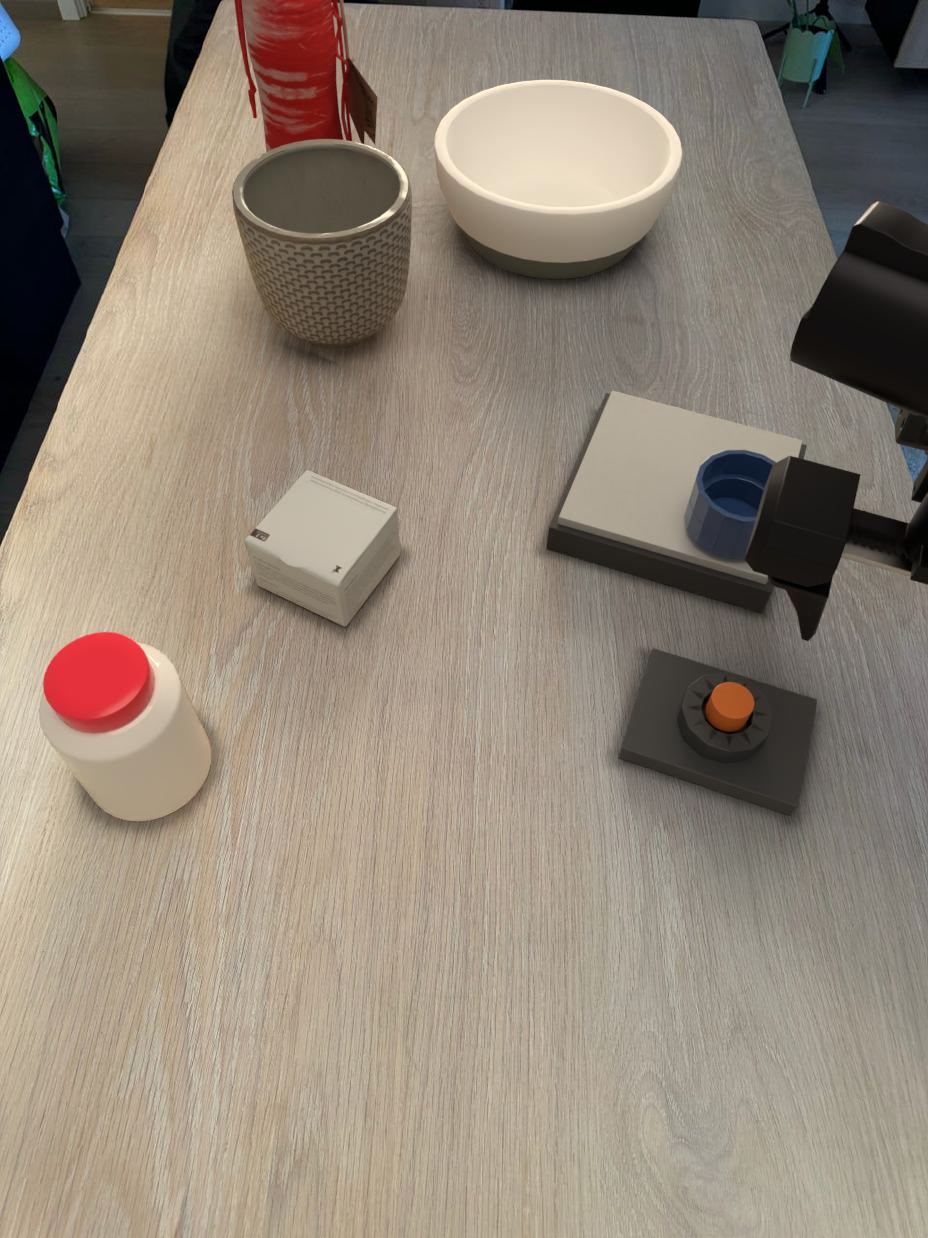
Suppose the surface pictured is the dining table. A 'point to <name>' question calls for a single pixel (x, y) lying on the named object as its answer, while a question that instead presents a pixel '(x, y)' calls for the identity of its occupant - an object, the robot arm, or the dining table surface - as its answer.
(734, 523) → the small dish
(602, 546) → the scale
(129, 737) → the pill bottle
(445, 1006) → the dining table surface
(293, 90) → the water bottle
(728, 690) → the button
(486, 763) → the dining table surface
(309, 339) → the planter
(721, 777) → the pad
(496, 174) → the bowl
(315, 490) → the small box
